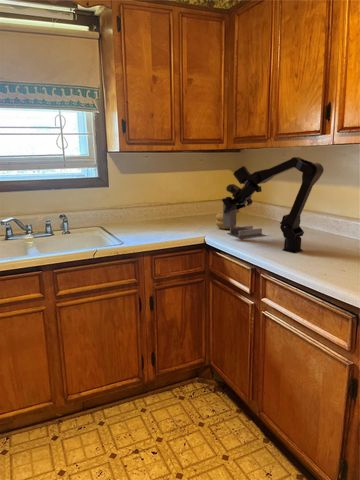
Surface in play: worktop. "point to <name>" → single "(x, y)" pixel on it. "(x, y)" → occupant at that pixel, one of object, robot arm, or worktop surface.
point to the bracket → (245, 232)
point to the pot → (221, 221)
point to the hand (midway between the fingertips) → (227, 212)
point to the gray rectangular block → (229, 217)
